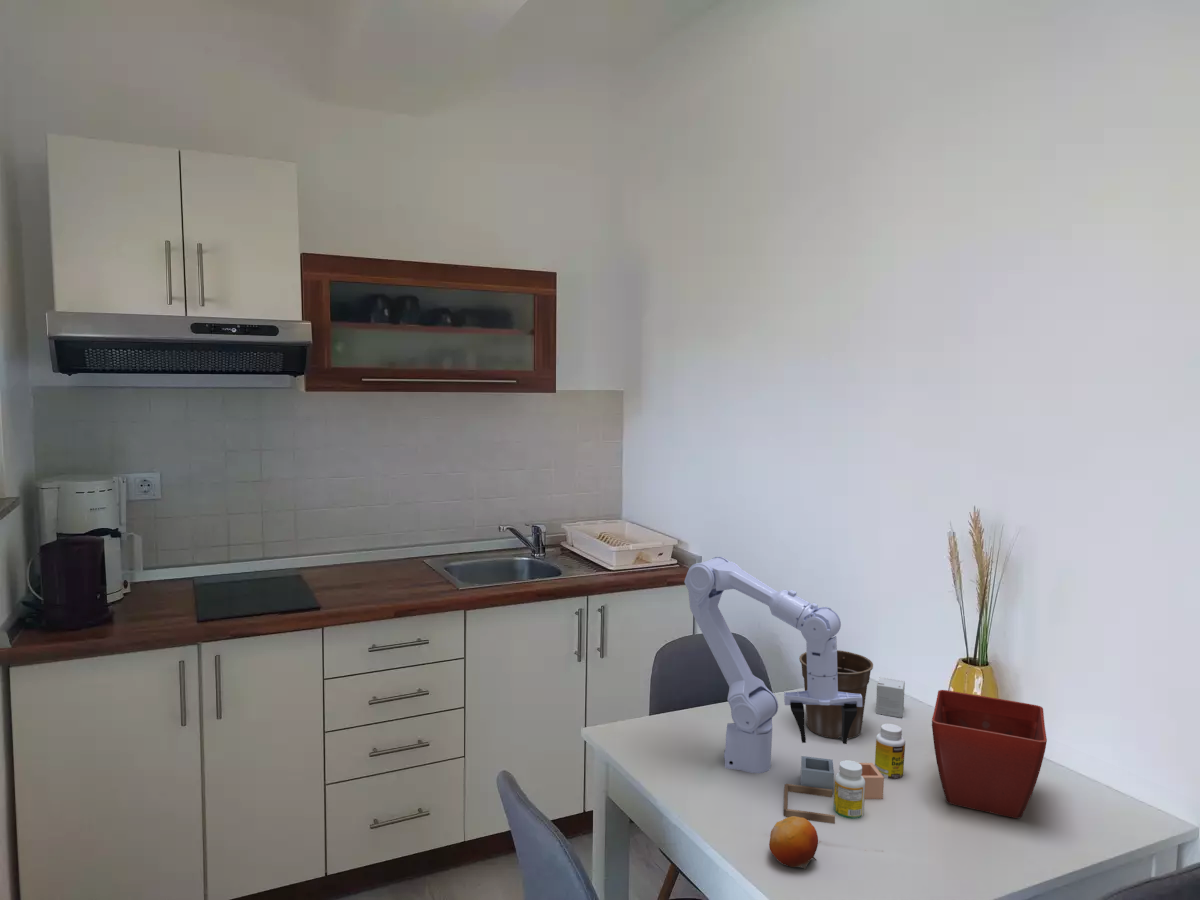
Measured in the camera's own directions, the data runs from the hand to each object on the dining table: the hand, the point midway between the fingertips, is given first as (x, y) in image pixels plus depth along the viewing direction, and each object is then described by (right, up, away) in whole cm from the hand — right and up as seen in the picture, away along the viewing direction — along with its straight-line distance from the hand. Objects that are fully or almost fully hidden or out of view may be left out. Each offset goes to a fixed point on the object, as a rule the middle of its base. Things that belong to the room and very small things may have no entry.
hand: (823, 741), depth 160 cm
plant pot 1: (+10, -8, +30) cm, 33 cm away
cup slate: (-1, -10, +2) cm, 10 cm away
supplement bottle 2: (+15, -10, +8) cm, 20 cm away
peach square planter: (+7, -10, 0) cm, 12 cm away
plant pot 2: (+31, -11, 0) cm, 33 cm away
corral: (-4, -11, -6) cm, 13 cm away
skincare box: (+27, -7, +41) cm, 49 cm away
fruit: (-11, -12, -22) cm, 28 cm away
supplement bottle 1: (+2, -11, -8) cm, 14 cm away
